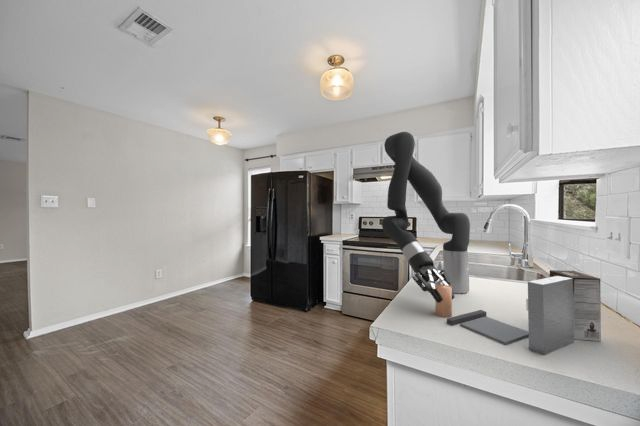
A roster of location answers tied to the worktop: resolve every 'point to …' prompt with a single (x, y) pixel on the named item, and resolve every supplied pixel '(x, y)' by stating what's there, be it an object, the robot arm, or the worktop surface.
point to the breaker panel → (550, 314)
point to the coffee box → (584, 304)
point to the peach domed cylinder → (444, 301)
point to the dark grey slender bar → (466, 317)
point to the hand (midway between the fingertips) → (446, 299)
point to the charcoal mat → (496, 330)
